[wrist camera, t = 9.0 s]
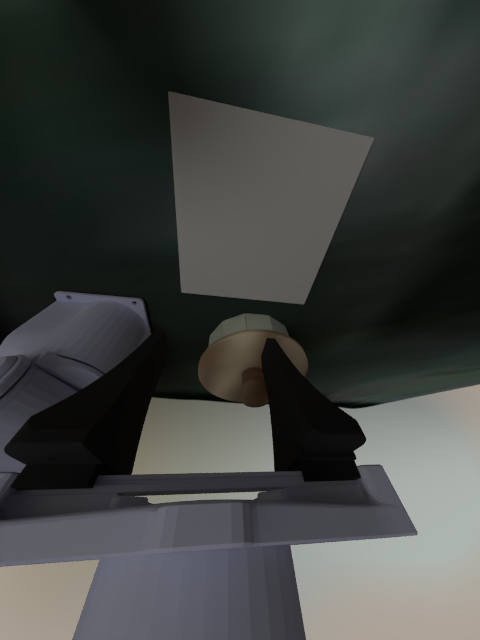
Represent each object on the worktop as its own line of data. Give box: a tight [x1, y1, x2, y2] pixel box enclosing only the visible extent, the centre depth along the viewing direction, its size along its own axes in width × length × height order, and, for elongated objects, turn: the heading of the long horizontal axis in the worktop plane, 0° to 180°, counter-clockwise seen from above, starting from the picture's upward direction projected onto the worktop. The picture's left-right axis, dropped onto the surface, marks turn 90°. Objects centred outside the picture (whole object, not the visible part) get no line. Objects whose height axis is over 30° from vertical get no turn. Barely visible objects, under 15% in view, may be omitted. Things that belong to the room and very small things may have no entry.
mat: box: [168, 91, 374, 304], centre depth 17 cm, size 15×15×1 cm
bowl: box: [209, 313, 289, 346], centre depth 26 cm, size 12×12×4 cm
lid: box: [198, 329, 308, 407], centre depth 22 cm, size 14×14×4 cm
